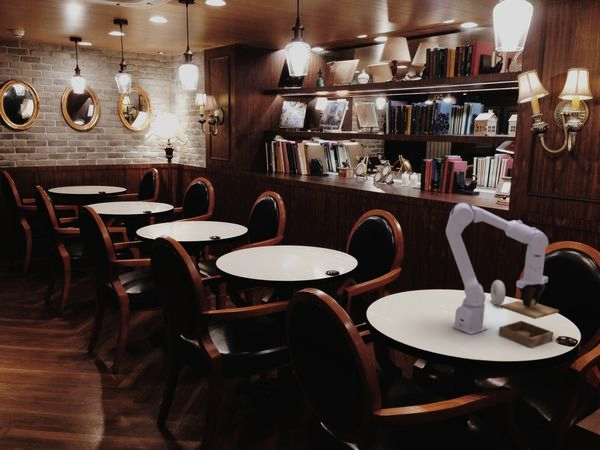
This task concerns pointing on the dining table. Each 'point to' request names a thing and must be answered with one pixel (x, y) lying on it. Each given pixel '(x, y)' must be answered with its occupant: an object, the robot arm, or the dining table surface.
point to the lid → (530, 309)
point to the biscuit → (524, 332)
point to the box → (511, 334)
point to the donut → (498, 292)
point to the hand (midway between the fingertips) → (529, 305)
